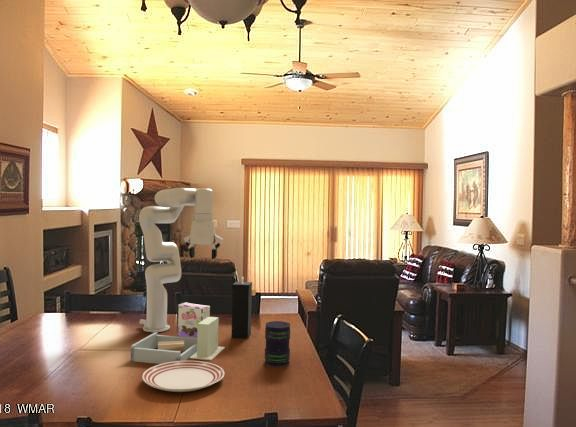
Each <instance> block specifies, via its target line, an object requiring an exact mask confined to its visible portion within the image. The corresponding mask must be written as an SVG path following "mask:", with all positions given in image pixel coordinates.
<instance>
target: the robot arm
mask: <svg viewBox="0 0 576 427" xmlns="http://www.w3.org/2000/svg"><path fill="white" fill-rule="evenodd" d="M154 202H155V203H156V205H151V206H149V205H148V206H145V207H143V208H142V209H141V210H140V212H139V217H138V218H139V220H138V221H139V227H140V228H141V231H142V234H143V240H144V247H145V255H146V259H147V261H149V262H151V263H152V262H155V263H156V264H151V265H149V266H147V267H146V268H145V271H144V275H145V276H144V277H145V283H146V319H142V318H141V319H139V325H143V327H142V330H143V332H146V333H155V332H157V333H161V332H166V331H168V330H170V329H171V325H169V324H168V292H167V289H166V287H164V284H168V283H169V284H171V283H177V282H179V281H180V280H181V278H182V266H181V265H182V264H181V260H180V250H179V247H178V245H177V244H176V243H175V242H172V241H164V240H163V235H162V231H161V230H160V229H159V227H158V226H157V224H172V223H175V222H176V221H177V219H178V218H179V216H180V214H181V212H182V211H183V209H184V207H185V206H187V207H188V206H193V207H194V214H191V219H193V220H192V222H191V227H190V234H188V235H186V236H184V237H183V241H184V244H185V245H186V246H187V248H188V249H189V250H188V252H189V254H188V255H189V259H193V258H195V247H196V246H197V245H198V246H199V245H201V246H210V247H211V248H212V249H211V259H212V260H215V259H217V258H216V257H217V256H218V248H220V247H221V245H222V243H223V241H224V238H222V237H220V236H218V235H217V234H216V232H217V231H216V224H215V221H213V217H214V216H213V215H214V214H213V212H214V190H212V189H211V188H192V187H191V188H190V187H174V188H173V187H172V188H170V189H168V188H167V189H162V190H159V191H158V192H156V193H155V195H154ZM216 241H217V243H216ZM157 262H167V263H158V264H157Z"/></svg>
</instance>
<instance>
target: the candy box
mask: <svg viewBox="0 0 576 427" xmlns="http://www.w3.org/2000/svg"><path fill="white" fill-rule="evenodd" d="M210 313H211V306H210V305H204V304H196V303H190V302H187V301H185V302H181V303H180V304H177V336H178V337H190V338H197V327H198V323H199V322H201V321H203V320H204V319H206V318H207V317H211V315H210Z"/></svg>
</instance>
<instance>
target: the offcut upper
mask: <svg viewBox="0 0 576 427" xmlns="http://www.w3.org/2000/svg"><path fill="white" fill-rule="evenodd" d="M157 349H158V350H170V351H181V352H184V351H185V350H184V341H168V342H158V348H157Z"/></svg>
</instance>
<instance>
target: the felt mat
mask: <svg viewBox="0 0 576 427" xmlns="http://www.w3.org/2000/svg"><path fill="white" fill-rule="evenodd" d="M224 349H225V346H219V345H218V348H217V349H216V350H215V351H214V352H213V353H212V354H211V355H210V356H208V357H200V356H197V352H196V353H195V354H193V355H192V356H191V357H190V358H189V359H192V360H203V361H212V360H214V359H215V358H216V357H217V356H218V355H219V354H220V353H221V352H222V351H223V350H224Z"/></svg>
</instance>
